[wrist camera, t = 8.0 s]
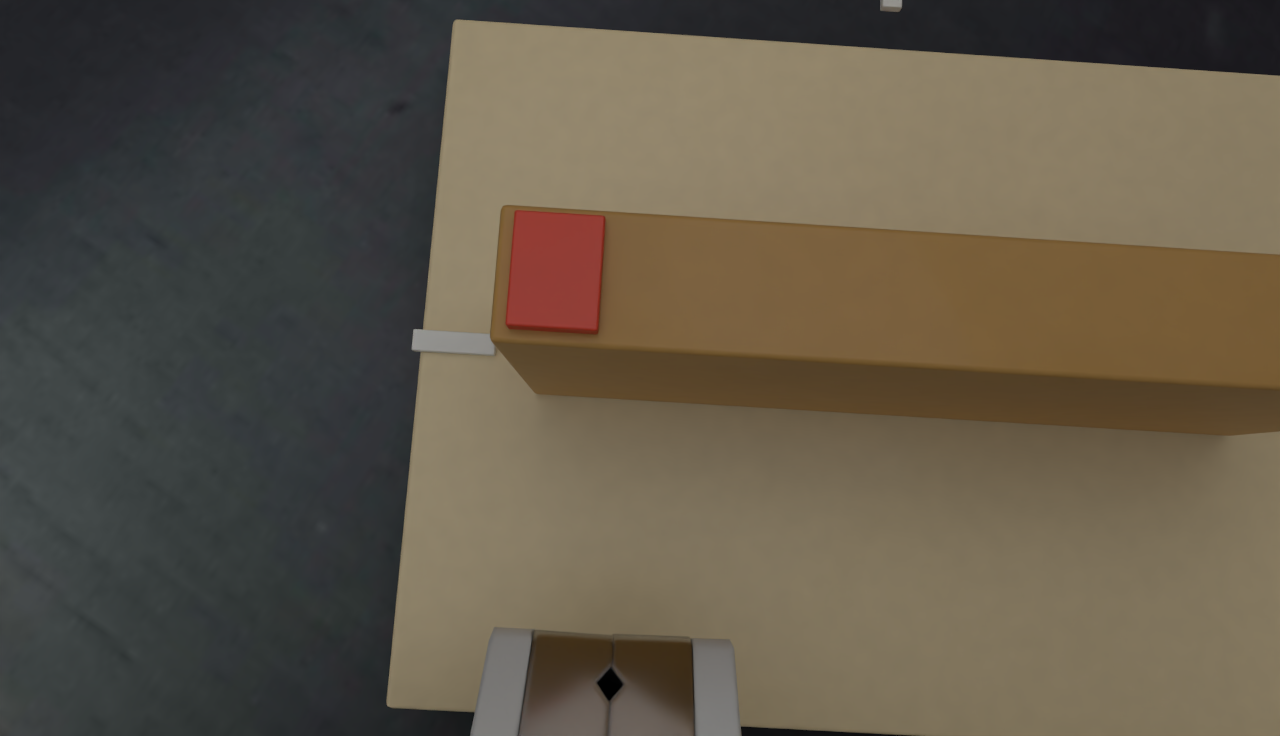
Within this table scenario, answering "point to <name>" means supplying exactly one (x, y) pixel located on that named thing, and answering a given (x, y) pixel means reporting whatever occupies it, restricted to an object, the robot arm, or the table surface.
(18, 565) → the table surface
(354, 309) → the table surface
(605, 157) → the dial panel
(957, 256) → the pointer
